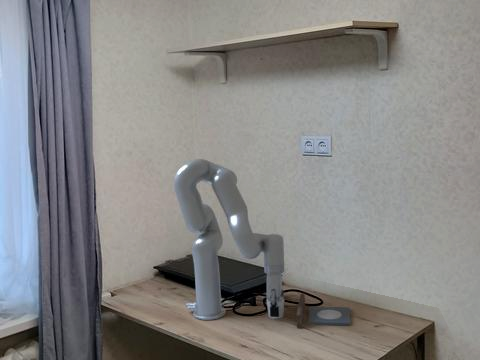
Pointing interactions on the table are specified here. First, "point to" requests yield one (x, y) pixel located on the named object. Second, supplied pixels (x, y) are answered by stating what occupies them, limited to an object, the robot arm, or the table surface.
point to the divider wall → (300, 310)
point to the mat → (329, 316)
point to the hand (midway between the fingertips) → (275, 311)
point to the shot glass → (281, 307)
